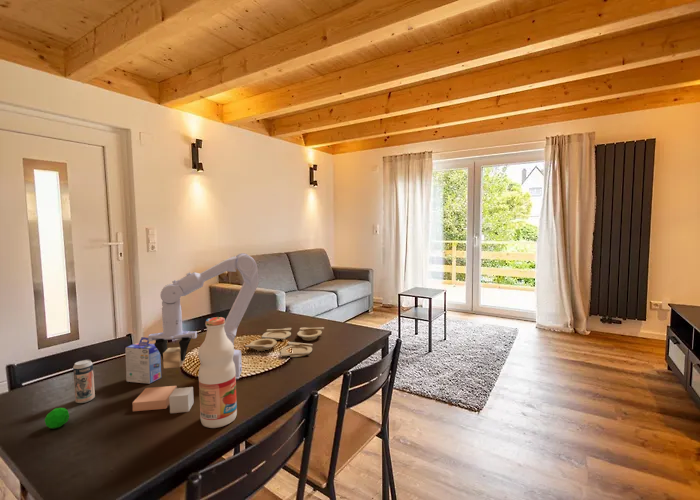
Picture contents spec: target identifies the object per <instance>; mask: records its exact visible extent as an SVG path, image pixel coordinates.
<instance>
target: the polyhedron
mask: <svg viewBox="0 0 700 500" xmlns="http://www.w3.org/2000/svg"><path fill="white" fill-rule="evenodd" d="M69 419H70V413H69V411H68V409H66V408H65V407H55V408H54V409H53V410H51V411H49V412H48V413H46V416H45V418H44V423H45V426H46V428H49V429H51V430H52V429H59V428H61V427H62V426H63V425H65V424H66V423H68V421H69Z"/></svg>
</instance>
